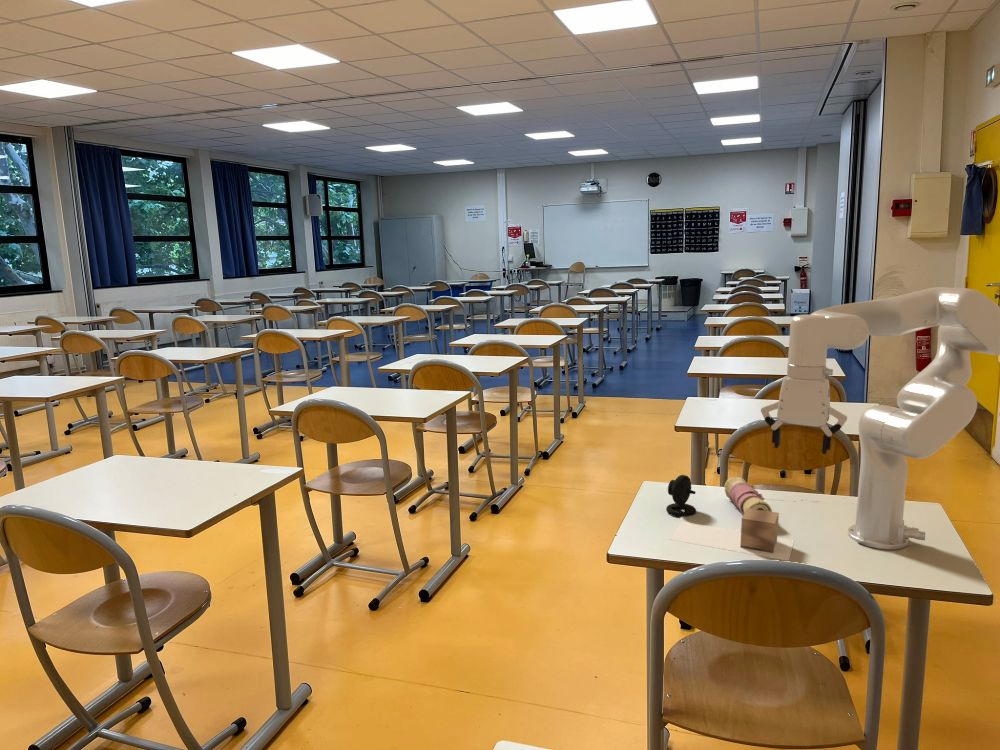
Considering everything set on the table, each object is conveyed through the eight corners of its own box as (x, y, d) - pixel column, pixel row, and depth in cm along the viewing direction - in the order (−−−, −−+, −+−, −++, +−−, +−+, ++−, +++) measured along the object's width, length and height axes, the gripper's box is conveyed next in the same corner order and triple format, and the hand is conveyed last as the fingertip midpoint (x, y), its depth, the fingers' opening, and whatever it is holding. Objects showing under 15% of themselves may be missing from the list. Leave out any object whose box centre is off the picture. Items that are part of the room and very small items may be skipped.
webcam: (674, 504, 188) (675, 468, 186) (701, 511, 183) (702, 474, 181) (660, 513, 182) (661, 476, 180) (687, 520, 177) (688, 482, 176)
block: (777, 541, 163) (778, 512, 162) (773, 553, 157) (774, 523, 156) (745, 536, 166) (746, 508, 165) (740, 547, 160) (741, 518, 159)
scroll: (781, 523, 171) (757, 494, 191) (769, 496, 170) (746, 470, 190) (752, 535, 172) (730, 505, 192) (740, 509, 171) (719, 481, 191)
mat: (794, 541, 164) (794, 540, 164) (788, 562, 153) (788, 560, 153) (682, 522, 176) (682, 521, 176) (669, 540, 165) (669, 539, 165)
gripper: (852, 373, 150) (845, 450, 153) (766, 366, 159) (762, 440, 162) (849, 379, 144) (842, 459, 147) (760, 372, 152) (755, 448, 155)
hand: (800, 449), depth 154 cm, fingers open, 9 cm apart
